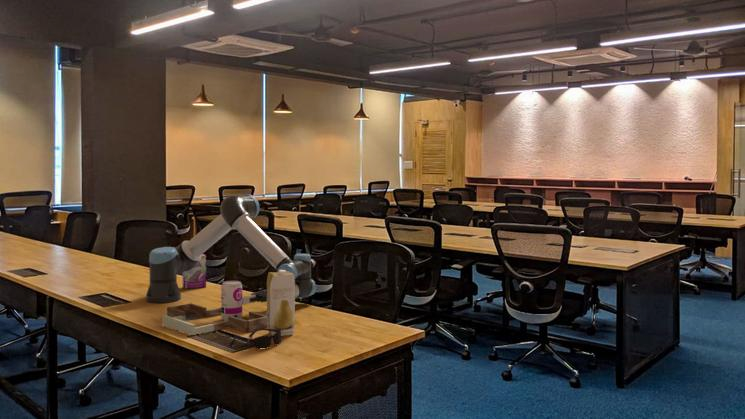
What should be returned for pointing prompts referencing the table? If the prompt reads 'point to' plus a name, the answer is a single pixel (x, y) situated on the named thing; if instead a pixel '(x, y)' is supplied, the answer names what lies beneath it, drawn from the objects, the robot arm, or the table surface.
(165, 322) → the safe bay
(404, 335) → the table surface
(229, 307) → the supplement can
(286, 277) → the juice carton
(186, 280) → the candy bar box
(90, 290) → the table surface
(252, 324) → the brown shallow tray
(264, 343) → the sunglasses
